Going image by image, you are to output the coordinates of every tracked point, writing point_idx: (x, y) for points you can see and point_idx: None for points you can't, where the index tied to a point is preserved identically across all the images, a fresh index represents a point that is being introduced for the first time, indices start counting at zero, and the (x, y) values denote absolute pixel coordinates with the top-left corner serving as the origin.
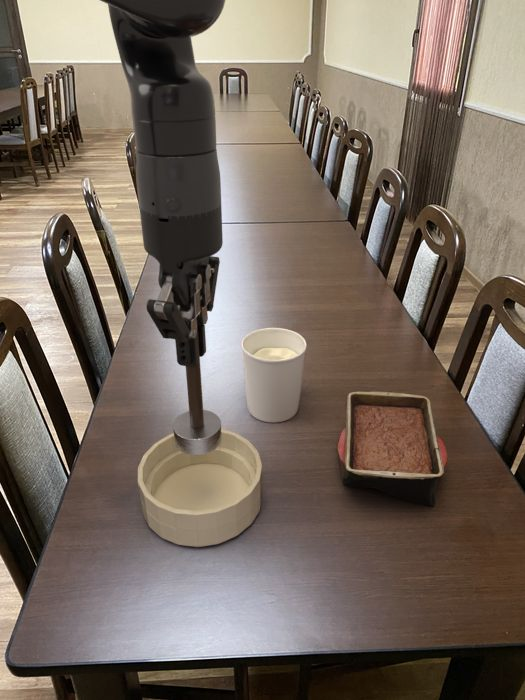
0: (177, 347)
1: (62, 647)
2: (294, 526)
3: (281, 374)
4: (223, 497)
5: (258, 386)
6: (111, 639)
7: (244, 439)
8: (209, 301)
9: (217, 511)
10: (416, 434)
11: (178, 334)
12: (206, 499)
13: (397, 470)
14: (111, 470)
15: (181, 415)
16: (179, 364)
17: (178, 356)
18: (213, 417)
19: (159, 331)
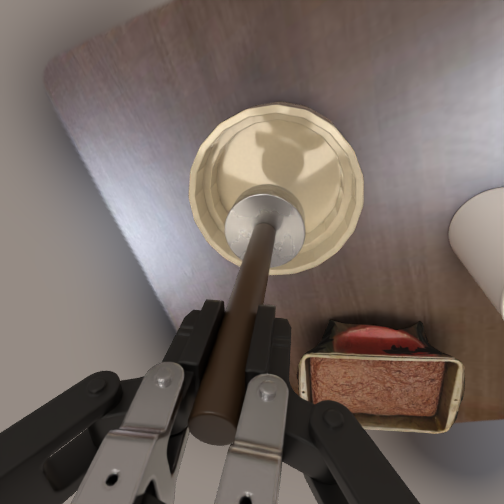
0: (170, 347)
1: (70, 113)
2: (268, 280)
3: (488, 295)
4: None
5: (483, 243)
6: (98, 156)
7: (341, 243)
8: (314, 492)
9: (208, 242)
10: (379, 408)
11: (67, 445)
12: None
13: (320, 388)
14: (305, 13)
15: (279, 200)
16: (208, 299)
17: (182, 327)
18: (287, 253)
19: (48, 402)
